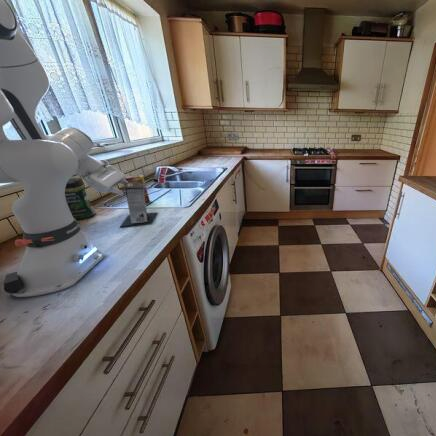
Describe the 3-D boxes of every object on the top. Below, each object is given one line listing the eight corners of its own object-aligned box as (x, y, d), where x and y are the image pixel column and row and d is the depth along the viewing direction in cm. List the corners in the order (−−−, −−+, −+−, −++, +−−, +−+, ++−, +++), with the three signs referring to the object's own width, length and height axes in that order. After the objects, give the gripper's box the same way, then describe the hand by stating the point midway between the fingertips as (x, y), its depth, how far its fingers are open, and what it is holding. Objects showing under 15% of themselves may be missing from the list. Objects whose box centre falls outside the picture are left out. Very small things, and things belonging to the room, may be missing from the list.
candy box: (131, 207, 119) (122, 178, 112) (131, 204, 122) (122, 176, 115) (150, 203, 123) (142, 176, 116) (150, 201, 126) (142, 174, 120)
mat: (151, 223, 101) (151, 222, 101) (120, 227, 98) (119, 226, 98) (157, 213, 111) (157, 212, 111) (129, 216, 108) (129, 215, 108)
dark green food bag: (66, 221, 103) (47, 182, 95) (74, 214, 110) (57, 177, 102) (92, 218, 106) (75, 179, 98) (98, 211, 113) (83, 175, 105)
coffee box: (130, 216, 105) (124, 182, 99) (147, 214, 109) (142, 181, 103) (130, 223, 98) (124, 187, 92) (148, 221, 102) (143, 186, 96)
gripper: (83, 169, 82) (123, 193, 89) (107, 159, 100) (138, 179, 106) (74, 182, 83) (114, 204, 89) (99, 170, 100) (130, 189, 107)
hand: (127, 190), depth 98 cm, fingers open, 8 cm apart
